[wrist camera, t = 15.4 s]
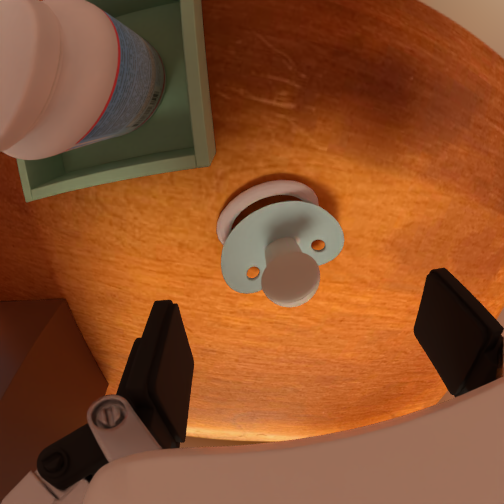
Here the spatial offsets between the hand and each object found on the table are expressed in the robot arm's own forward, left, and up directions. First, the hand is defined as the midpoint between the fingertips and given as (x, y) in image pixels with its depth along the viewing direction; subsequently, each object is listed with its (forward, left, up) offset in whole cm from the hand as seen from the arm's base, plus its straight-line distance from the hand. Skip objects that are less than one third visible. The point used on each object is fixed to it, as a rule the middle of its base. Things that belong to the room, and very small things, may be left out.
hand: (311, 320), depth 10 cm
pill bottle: (-8, +10, -9) cm, 16 cm away
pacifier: (0, 0, -10) cm, 10 cm away
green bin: (-8, +10, -9) cm, 16 cm away
